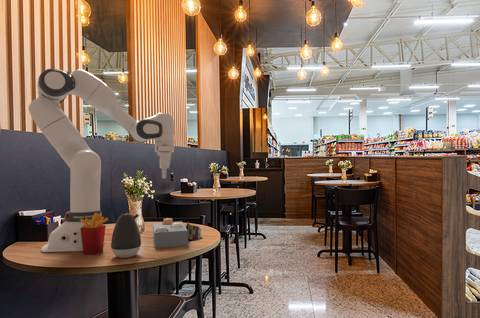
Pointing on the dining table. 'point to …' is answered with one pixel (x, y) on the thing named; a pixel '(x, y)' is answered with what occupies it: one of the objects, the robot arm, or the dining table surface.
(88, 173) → the robot arm
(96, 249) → the french fries
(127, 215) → the dark grey egg shape
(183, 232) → the grey open box
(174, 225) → the cream plunger
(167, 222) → the terracotta plunger
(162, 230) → the grey plunger
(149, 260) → the dining table surface
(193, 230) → the chocolate cake
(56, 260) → the dining table surface
